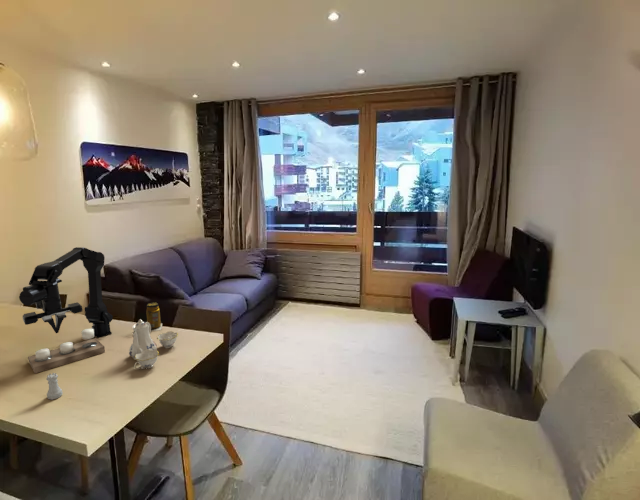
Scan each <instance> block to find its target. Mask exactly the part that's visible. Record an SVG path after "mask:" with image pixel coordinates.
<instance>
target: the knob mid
mask: <svg viewBox="0 0 640 500" xmlns="http://www.w3.org/2000/svg"><path fill="white" fill-rule="evenodd" d="M73 344H74V342H73V341H67V342H66V341H65V342H63V343H60V344H59V348H60V351H61V353H62V354H66V353H70V352H72V351H73V350H74V348H73Z"/></svg>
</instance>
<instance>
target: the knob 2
mask: <svg viewBox="0 0 640 500" xmlns="http://www.w3.org/2000/svg"><path fill="white" fill-rule="evenodd" d="M94 337H95V336H94V329H92V327H91V328H85V329H82V330H81V338H82V340H91V339H94Z"/></svg>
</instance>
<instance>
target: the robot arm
mask: <svg viewBox="0 0 640 500" xmlns="http://www.w3.org/2000/svg"><path fill="white" fill-rule="evenodd" d="M78 261H82V265H83V267H84V269H85V270H86V271H87V278H88V296H89V297H88V298H89V303H88V305H87V306H85V307H84V309H83V306H82V304H81V303H79V302H72V303H68V304H67V306H66V307H62V302H61V297H60V290H59V283H62V282H63V280H62V279H60V278H59V277H60V276H61V275H63V271H64V270H65V269H66V268H68V267H69V266H71V265H73V264H74V263H76V262H78ZM104 266H105V254H104V253H102V252H101V251H95V250H92V249H89V248H87V247H84V246H83V247H82V246H81V247H79V246H77V247H74V248H72V249H71V250H70V251H68V252H66V253H65V254H63V255H61V256H60V257H58V258H57V259H54V260H53V261H49V262H44V263H41V264H39V265H36V266H35V267H34V269H33V272H32V275H31V278H30V280H29V282H28V285H29V286H24V287H22V291H21V292H20V293H19V296H18V298H19V301H20V302H21V304H23V305H25V306H32V305H34V304H35V308H36V309H37V310H39V309H42V311H43V312H40V313H36V311H31V312H26V313H23V315H22V322H23V323H24V325H27V326H28V325H32V324H36V323H38V321H39V319H42V322H43V323H48V324H49V325H50V327H51V328H52V329H53V331H54V333H55V334H59V332H60V330H61V325H62V324H63V323H62V322H63V321H64V319H66V318H67V315H66V314H67V313H69V312H71V313H72V314H78V313H82V312H83V310H84V316H85V318H86V319H87V322H88V324H92V326H91V328H92V329H94V337H95V338H96V339H98V338H101V337H104V336H108V335H112V334H113V332H112V331H111V325H110V323H111V322H112V321H113V314H111V313H109V311H108V309H107V307H108V306H106V303H104V301H103V290H102V289H103V288H102V275H101V274H102V273H101V271H102V269H103V267H104ZM53 316H54V317H55V319H54V318H53Z"/></svg>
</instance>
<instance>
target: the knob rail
mask: <svg viewBox="0 0 640 500" xmlns="http://www.w3.org/2000/svg"><path fill="white" fill-rule="evenodd" d="M73 348H74V350H73V351H72V352H70V353H66V354H62V353H61V351H60V347H59V348H54V349H52V350H49V351H50V358H48V359H46V360H42V361H37V360H36V354H34V355H29V356H28V357H27V358H28V363H29V365H30V367H31V369H32V371H33V373H34V374H37V373H41V372H45V371H48V370H51V369H54V368H57V367H60V366H63V365H67V364H70V363H73V362H77V361H81V360H84V359H86V358H87V359H88V358H90V357H93V356H97V355H100V354H103V353H105V352H106V348H105V346H104V345H103V344H102V343H101V342H100V341H99V340H98V338H97V337H95V338H94V337H93V338H91V339H86V340H84V341H80V342H77V343H76V342H75V343H73Z"/></svg>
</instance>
